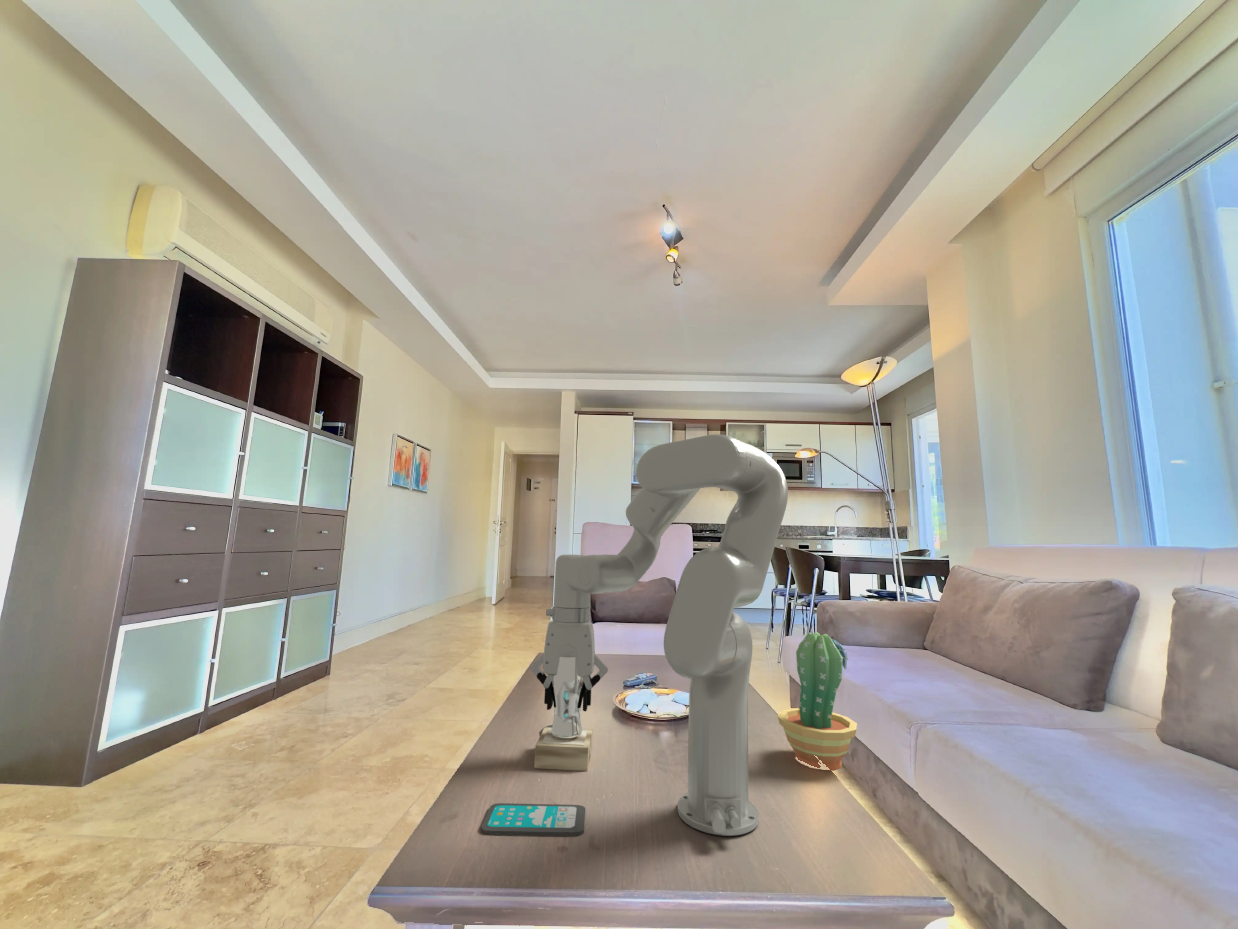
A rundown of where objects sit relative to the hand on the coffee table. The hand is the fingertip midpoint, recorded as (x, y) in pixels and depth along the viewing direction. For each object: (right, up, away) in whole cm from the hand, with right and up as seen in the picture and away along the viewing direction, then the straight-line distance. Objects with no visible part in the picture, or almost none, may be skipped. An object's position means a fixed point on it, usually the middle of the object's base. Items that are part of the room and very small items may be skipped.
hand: (567, 707), depth 103 cm
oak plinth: (0, -9, -1) cm, 9 cm away
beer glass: (0, -5, -1) cm, 5 cm away
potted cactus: (+51, -12, +2) cm, 52 cm away
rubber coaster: (-3, -11, +12) cm, 17 cm away
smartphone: (-3, -6, -25) cm, 25 cm away
